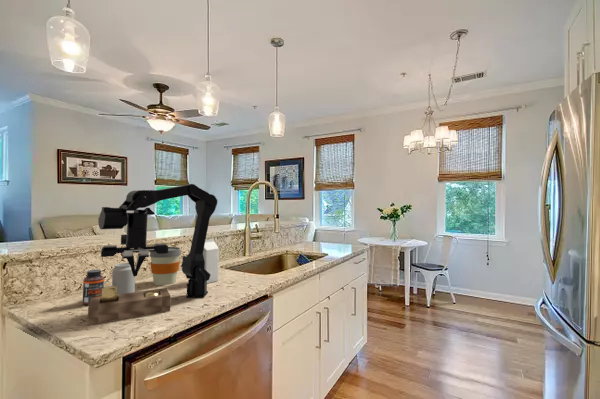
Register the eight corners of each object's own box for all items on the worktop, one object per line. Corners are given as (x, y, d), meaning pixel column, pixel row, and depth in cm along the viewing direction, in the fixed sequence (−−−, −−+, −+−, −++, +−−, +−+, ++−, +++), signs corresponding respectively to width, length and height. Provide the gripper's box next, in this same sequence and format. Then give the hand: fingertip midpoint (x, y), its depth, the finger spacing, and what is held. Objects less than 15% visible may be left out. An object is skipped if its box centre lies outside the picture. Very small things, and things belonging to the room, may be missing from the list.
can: (123, 299, 105) (124, 266, 105) (106, 297, 106) (107, 265, 106) (139, 293, 112) (139, 262, 112) (123, 291, 114) (123, 261, 114)
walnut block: (166, 301, 103) (166, 287, 103) (170, 310, 94) (170, 295, 94) (90, 313, 91) (90, 297, 91) (87, 325, 83) (88, 307, 83)
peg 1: (116, 300, 92) (117, 285, 92) (116, 304, 89) (117, 288, 89) (101, 302, 90) (102, 287, 90) (101, 306, 87) (101, 290, 87)
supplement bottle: (87, 306, 97) (87, 273, 97) (79, 303, 100) (80, 271, 100) (106, 301, 102) (107, 270, 102) (98, 298, 105) (99, 268, 105)
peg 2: (157, 305, 99) (158, 290, 99) (159, 309, 95) (159, 294, 95) (144, 307, 97) (144, 292, 97) (145, 311, 93) (145, 296, 93)
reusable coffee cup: (165, 277, 136) (166, 246, 136) (186, 280, 131) (186, 247, 131) (142, 284, 124) (143, 249, 124) (164, 287, 119) (164, 252, 120)
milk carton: (218, 280, 131) (219, 239, 132) (205, 284, 125) (206, 241, 126) (208, 278, 135) (208, 238, 136) (195, 281, 129) (196, 239, 130)
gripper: (164, 226, 106) (162, 268, 105) (103, 227, 95) (101, 274, 95) (169, 228, 96) (167, 275, 96) (102, 229, 86) (99, 281, 85)
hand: (134, 276), depth 93 cm, fingers closed
